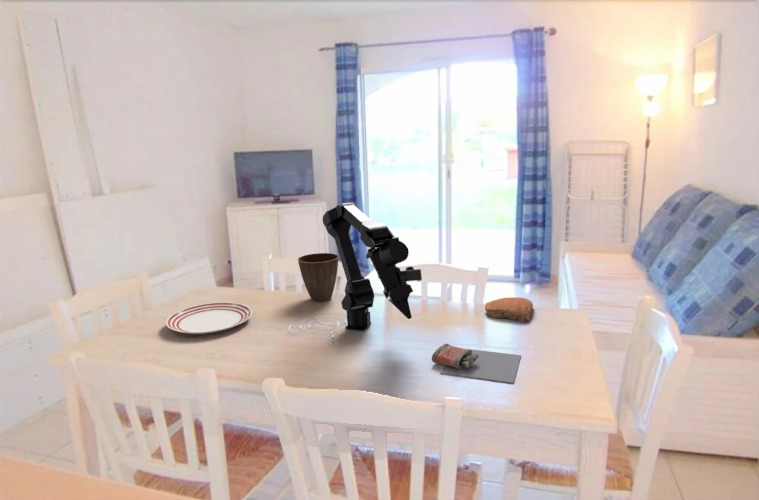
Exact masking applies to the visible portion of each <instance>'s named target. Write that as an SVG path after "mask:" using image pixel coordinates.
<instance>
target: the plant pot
mask: <svg viewBox="0 0 759 500" xmlns="http://www.w3.org/2000/svg"><path fill="white" fill-rule="evenodd" d="M339 258H340V255H339V254H336V253H332V252H331V253H329V252H317V253H310V254H309V253H308V254H305V255H302V256H300V257H298V258H297V262H298V266H299V270H300V273H301V274H300V275H301V277H302V280H303V283H304V286H305V289H306V290H307V293H308V295H309V297H310V299H311V301H312V302H317V303H321V302H328V301H329V300H331V299H332V297H333V293H334V290H335V286H336V283H337V277H338V276H337V275H338V270H339V269H338V268H339Z"/></svg>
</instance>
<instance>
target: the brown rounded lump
mask: <svg viewBox="0 0 759 500" xmlns="http://www.w3.org/2000/svg"><path fill="white" fill-rule="evenodd" d="M533 306H534V304H533V301H531V300H530V299H527V298H524V297H503V298H498V299H493V300H491V301H488V302H486V303H485V304H484V311H485V312H486V314H487V315H488V316H490V317H491V318H493V319H510V320H514V321H519V322H523V323H528V322H529V320H530V318H531V315H532V312H533Z"/></svg>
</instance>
